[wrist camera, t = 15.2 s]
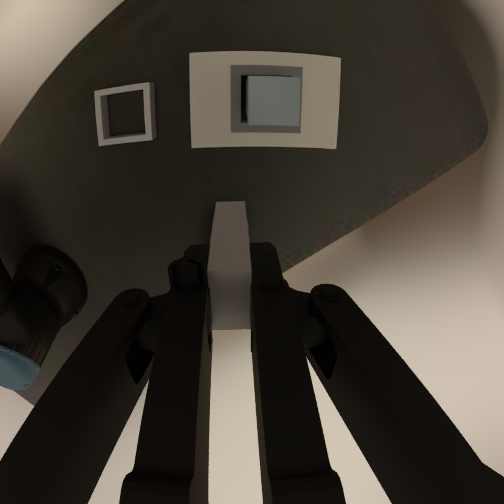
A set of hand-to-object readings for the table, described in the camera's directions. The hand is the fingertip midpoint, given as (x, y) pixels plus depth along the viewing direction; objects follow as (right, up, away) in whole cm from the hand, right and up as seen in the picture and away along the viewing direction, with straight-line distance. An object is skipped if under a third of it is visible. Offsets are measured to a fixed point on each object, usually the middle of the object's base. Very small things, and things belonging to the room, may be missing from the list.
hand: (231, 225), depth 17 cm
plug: (+3, +18, +20) cm, 27 cm away
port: (+3, +18, +20) cm, 27 cm away
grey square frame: (-15, +17, +20) cm, 30 cm away
